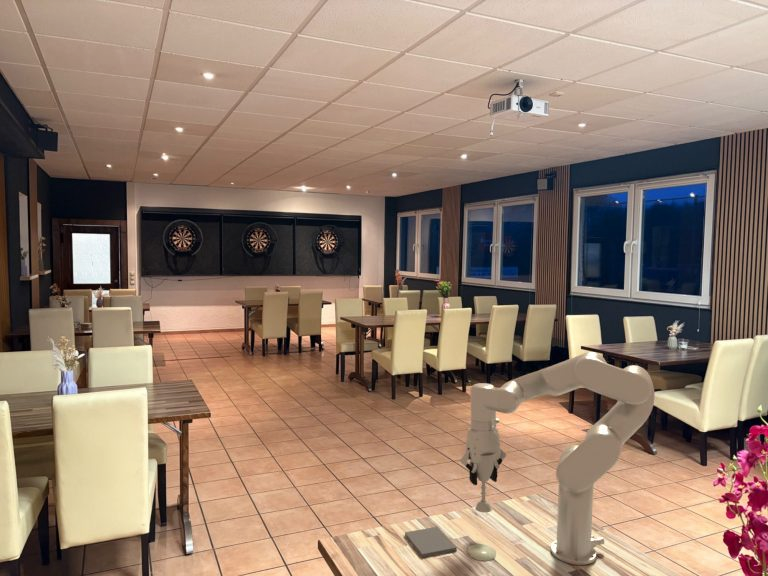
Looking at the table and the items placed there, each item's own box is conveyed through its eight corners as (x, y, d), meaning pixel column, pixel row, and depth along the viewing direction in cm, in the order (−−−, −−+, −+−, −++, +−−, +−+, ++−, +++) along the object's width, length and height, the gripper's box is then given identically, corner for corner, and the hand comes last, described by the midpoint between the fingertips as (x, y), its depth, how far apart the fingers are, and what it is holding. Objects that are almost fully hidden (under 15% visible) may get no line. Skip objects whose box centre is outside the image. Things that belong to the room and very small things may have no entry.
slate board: (437, 529, 178) (437, 526, 178) (456, 550, 166) (456, 547, 166) (404, 535, 175) (404, 532, 175) (422, 557, 162) (422, 554, 162)
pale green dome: (484, 544, 171) (484, 541, 171) (501, 557, 164) (501, 555, 164) (462, 550, 167) (462, 547, 167) (479, 564, 160) (479, 561, 160)
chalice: (494, 504, 178) (494, 448, 177) (496, 514, 172) (496, 455, 170) (471, 503, 179) (470, 447, 178) (472, 513, 172) (471, 455, 171)
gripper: (501, 418, 180) (501, 473, 181) (452, 424, 174) (452, 481, 175) (514, 424, 173) (514, 482, 174) (463, 431, 167) (464, 491, 168)
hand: (483, 481), depth 175 cm, fingers closed on chalice, 6 cm apart
